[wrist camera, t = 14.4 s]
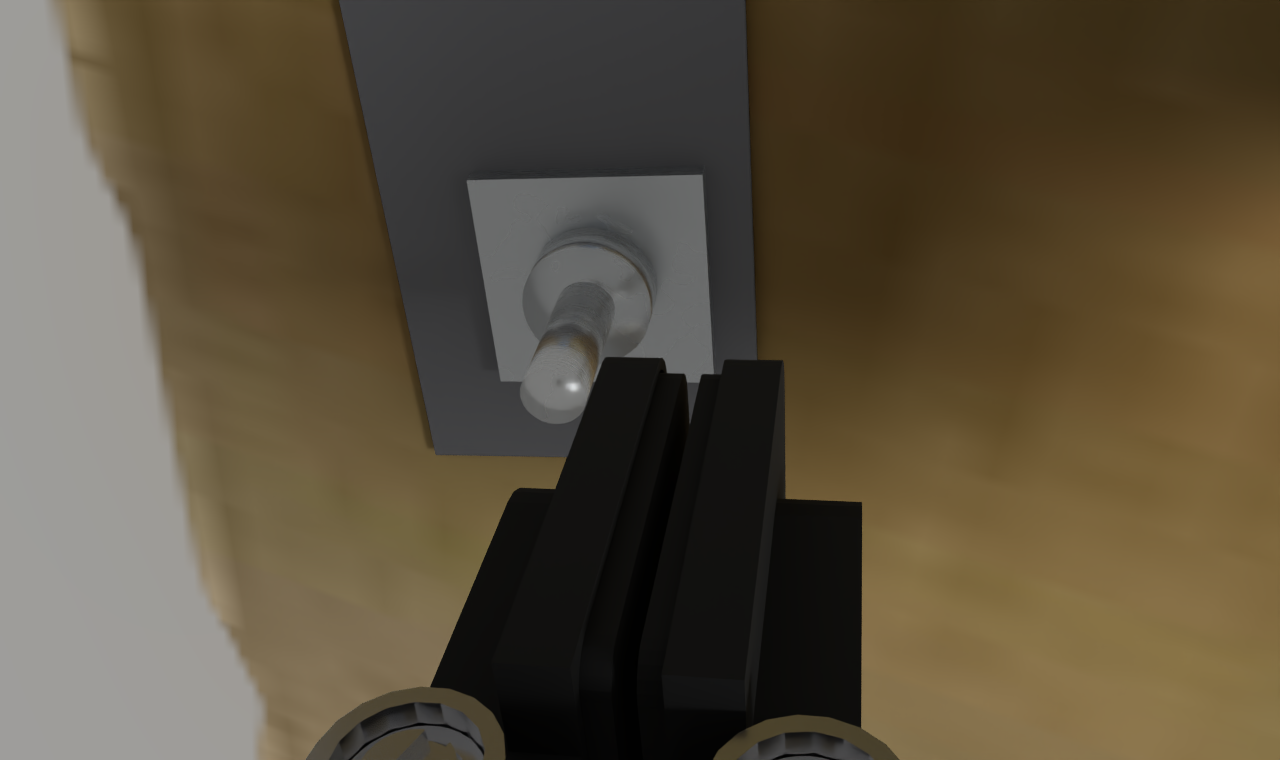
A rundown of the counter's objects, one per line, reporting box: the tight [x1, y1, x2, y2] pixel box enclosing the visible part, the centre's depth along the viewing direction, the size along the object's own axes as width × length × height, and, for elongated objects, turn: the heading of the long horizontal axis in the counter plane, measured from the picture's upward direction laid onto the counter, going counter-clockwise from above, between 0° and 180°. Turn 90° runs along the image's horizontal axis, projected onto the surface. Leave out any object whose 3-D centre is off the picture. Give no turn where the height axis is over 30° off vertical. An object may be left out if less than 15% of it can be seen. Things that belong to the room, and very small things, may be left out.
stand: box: [467, 166, 716, 424], centre depth 38 cm, size 8×8×8 cm
